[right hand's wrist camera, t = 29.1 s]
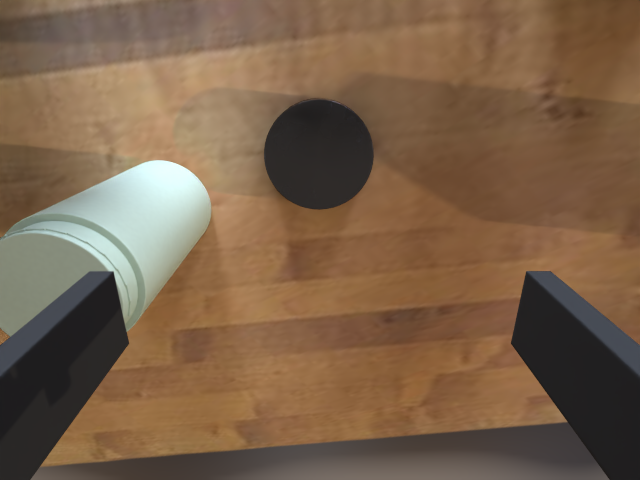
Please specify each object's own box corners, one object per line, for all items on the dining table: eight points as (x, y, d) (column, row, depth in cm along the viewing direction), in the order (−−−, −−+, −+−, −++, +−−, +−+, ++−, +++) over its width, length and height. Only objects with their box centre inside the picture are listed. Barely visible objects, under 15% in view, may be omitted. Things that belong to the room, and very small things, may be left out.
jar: (217, 172, 42) (137, 244, 23) (205, 256, 45) (127, 375, 27) (121, 150, 41) (-40, 207, 23) (116, 237, 44) (-26, 347, 26)
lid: (245, 154, 41) (241, 158, 39) (317, 73, 38) (317, 73, 36) (320, 222, 44) (320, 229, 41) (392, 151, 41) (396, 155, 39)
